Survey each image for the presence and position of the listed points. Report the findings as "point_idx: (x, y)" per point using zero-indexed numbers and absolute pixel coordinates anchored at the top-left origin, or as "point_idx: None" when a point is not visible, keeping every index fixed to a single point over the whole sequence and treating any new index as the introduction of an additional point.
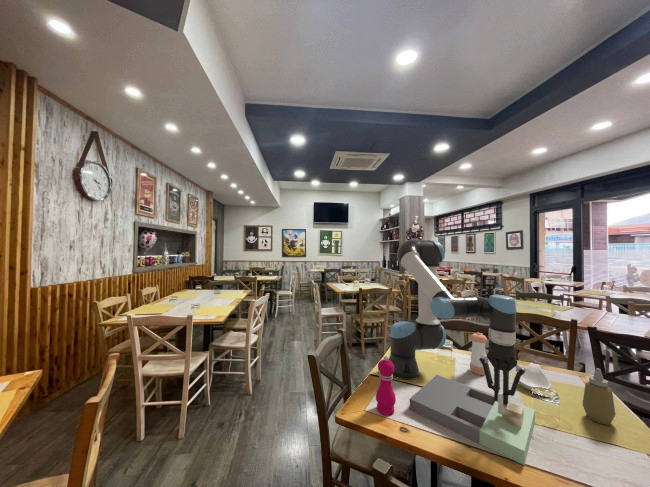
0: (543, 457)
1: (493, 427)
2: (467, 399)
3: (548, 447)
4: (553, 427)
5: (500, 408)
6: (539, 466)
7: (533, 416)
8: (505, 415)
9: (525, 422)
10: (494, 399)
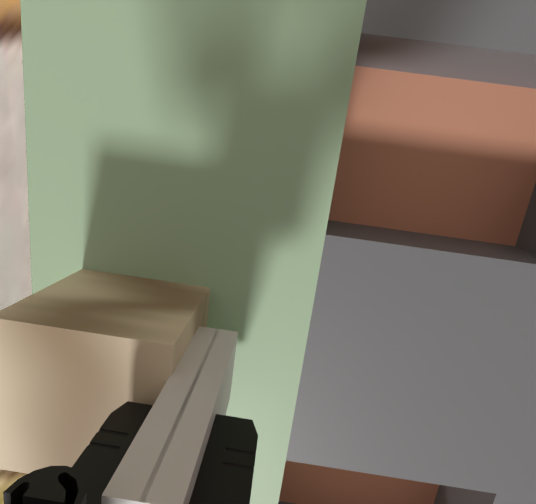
0: (16, 167)
1: (262, 128)
2: (481, 436)
3: (8, 284)
4: (11, 481)
5: (203, 357)
6: (22, 56)
7: None
8: (167, 304)
9: None
10: (255, 432)
